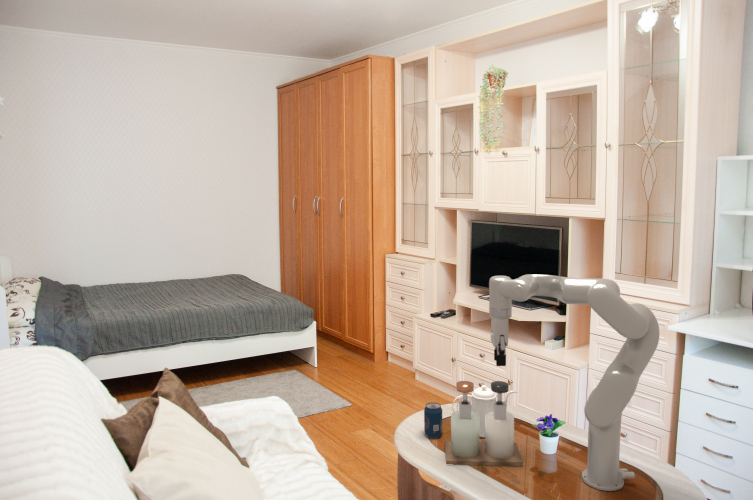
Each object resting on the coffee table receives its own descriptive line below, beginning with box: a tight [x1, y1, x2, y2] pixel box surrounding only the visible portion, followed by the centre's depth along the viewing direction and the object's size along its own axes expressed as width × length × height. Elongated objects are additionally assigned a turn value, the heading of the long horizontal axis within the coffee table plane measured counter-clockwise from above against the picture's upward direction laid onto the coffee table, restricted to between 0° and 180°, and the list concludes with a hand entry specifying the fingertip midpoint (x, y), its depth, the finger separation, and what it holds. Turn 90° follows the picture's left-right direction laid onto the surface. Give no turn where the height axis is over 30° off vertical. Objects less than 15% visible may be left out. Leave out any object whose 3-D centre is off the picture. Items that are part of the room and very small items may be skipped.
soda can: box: [423, 402, 444, 439], centre depth 214 cm, size 7×7×12 cm
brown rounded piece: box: [455, 380, 475, 404], centre depth 196 cm, size 6×6×8 cm
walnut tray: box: [444, 440, 524, 467], centre depth 198 cm, size 26×14×2 cm, turn 85°
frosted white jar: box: [484, 400, 515, 459], centre depth 197 cm, size 10×10×18 cm
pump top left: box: [490, 380, 510, 405], centre depth 195 cm, size 6×6×8 cm
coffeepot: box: [451, 384, 519, 439], centre depth 215 cm, size 11×25×19 cm, turn 84°
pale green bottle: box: [450, 400, 480, 458], centre depth 198 cm, size 10×10×18 cm
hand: (499, 362), depth 193 cm, fingers open, 4 cm apart
